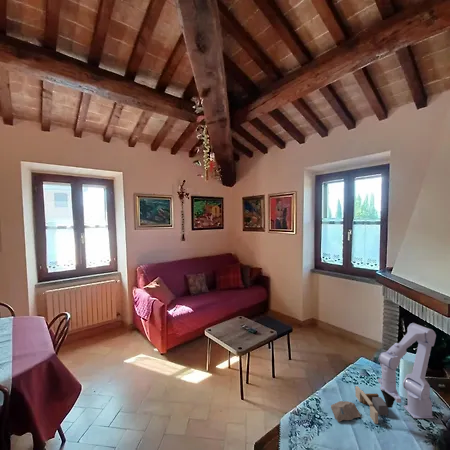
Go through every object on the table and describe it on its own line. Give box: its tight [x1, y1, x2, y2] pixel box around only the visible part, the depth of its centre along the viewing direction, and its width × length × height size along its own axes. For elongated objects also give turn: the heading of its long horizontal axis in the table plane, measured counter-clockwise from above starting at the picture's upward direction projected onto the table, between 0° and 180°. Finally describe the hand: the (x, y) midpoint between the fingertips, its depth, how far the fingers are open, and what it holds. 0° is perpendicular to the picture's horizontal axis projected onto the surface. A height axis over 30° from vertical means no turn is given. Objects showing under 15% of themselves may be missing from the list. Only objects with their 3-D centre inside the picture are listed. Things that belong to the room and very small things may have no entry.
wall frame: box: [354, 385, 379, 425], centre depth 128 cm, size 2×19×6 cm, turn 178°
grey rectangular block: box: [372, 396, 389, 416], centre depth 127 cm, size 4×6×5 cm
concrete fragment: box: [330, 400, 362, 423], centre depth 124 cm, size 7×14×6 cm, turn 99°
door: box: [361, 393, 380, 405], centre depth 131 cm, size 2×8×5 cm, turn 88°
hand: (389, 406), depth 119 cm, fingers closed
